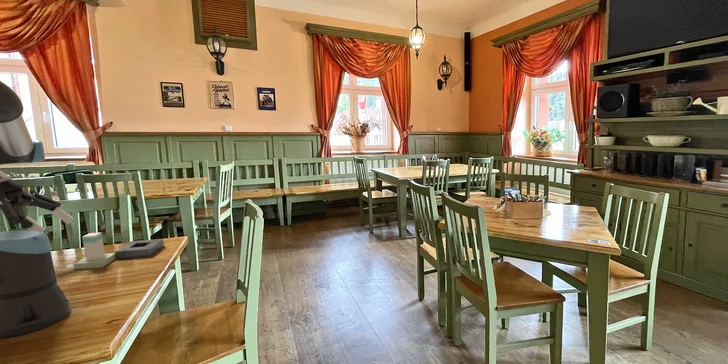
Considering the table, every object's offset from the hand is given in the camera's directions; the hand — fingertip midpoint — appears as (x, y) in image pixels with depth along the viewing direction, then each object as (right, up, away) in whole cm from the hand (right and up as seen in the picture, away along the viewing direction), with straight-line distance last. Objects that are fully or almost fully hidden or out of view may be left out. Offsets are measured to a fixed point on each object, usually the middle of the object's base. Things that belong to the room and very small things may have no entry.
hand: (57, 226), depth 121 cm
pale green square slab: (+11, -14, +4) cm, 18 cm away
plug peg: (+11, -14, +4) cm, 18 cm away
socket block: (+20, -12, +14) cm, 28 cm away
